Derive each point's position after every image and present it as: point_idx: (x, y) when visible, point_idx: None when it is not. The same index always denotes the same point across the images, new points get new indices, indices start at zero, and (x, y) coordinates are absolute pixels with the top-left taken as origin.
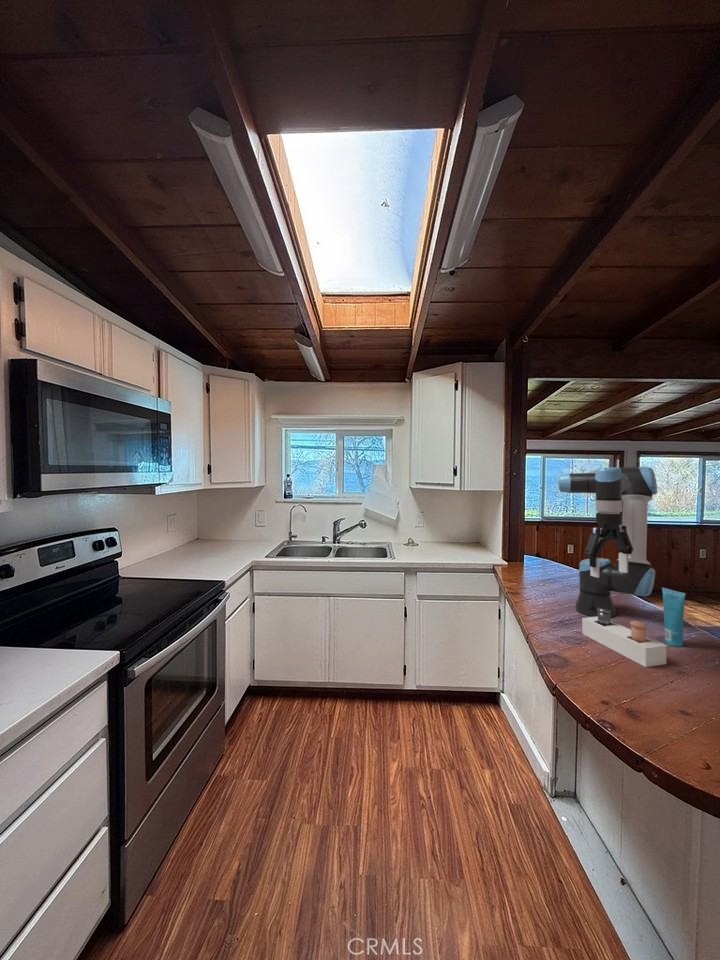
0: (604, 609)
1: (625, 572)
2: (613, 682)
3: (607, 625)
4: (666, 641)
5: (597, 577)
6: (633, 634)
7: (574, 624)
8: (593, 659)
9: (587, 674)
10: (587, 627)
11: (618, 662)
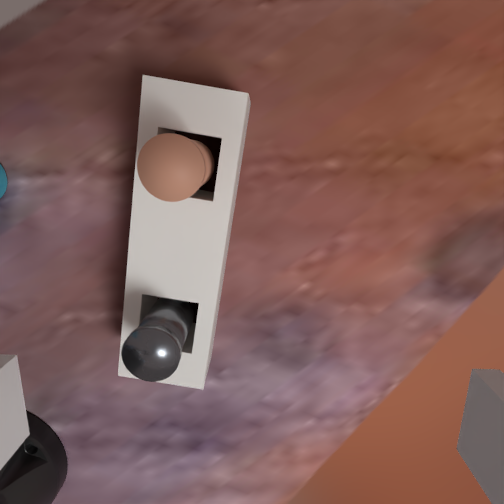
0: (155, 349)
1: (16, 368)
2: (448, 78)
3: (174, 304)
4: (2, 190)
5: (499, 373)
6: (207, 171)
7: (170, 413)
8: (355, 212)
9: (471, 150)
10: (210, 351)
11: (300, 164)
